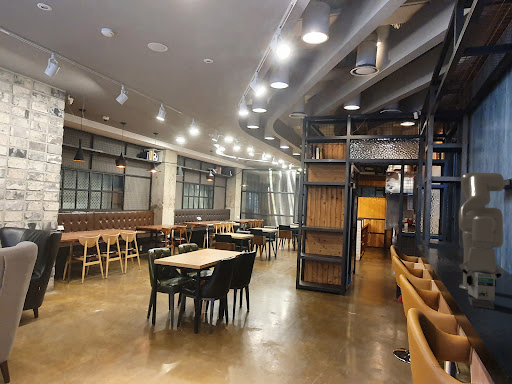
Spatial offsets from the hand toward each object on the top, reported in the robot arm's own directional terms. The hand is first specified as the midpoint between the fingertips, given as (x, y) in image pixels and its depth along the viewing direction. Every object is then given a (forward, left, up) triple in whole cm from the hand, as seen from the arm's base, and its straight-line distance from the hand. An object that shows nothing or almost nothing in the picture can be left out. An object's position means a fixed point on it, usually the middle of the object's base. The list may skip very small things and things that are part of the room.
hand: (480, 286), depth 151 cm
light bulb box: (0, 0, -5) cm, 5 cm away
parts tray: (0, 0, -7) cm, 7 cm away
